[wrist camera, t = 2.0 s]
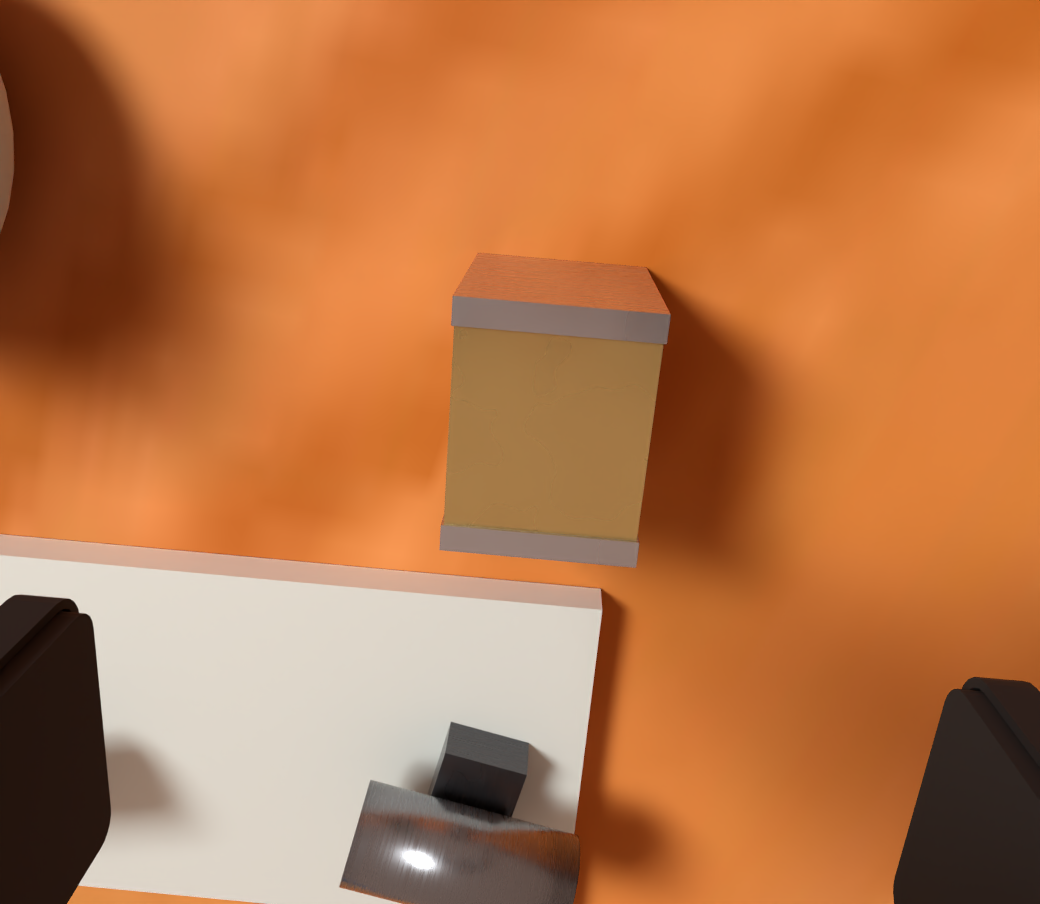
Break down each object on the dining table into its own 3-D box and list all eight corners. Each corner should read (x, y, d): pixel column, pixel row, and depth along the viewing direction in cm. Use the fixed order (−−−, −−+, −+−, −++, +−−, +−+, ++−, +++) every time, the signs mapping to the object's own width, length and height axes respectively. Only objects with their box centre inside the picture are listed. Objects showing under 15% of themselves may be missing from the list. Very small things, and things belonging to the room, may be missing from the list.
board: (600, 588, 27) (602, 610, 25) (562, 902, 31) (561, 932, 30) (-113, 524, 27) (-143, 542, 26) (-54, 842, 31) (-77, 870, 30)
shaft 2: (586, 758, 27) (590, 868, 23) (543, 867, 29) (540, 987, 25) (391, 705, 27) (362, 807, 23) (358, 818, 28) (326, 932, 24)
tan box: (478, 252, 23) (452, 295, 18) (646, 266, 23) (670, 314, 18) (465, 457, 25) (439, 550, 20) (620, 470, 25) (635, 567, 20)
